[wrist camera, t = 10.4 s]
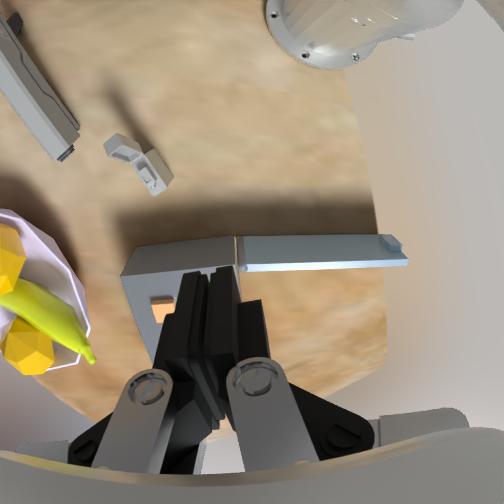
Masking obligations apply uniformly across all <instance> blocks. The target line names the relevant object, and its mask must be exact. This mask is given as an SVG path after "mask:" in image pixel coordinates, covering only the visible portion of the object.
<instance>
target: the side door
mask: <svg viewBox="0 0 504 504" xmlns="http://www.w3.org/2000/svg"><path fill="white" fill-rule="evenodd" d="M236 245H237V263H238V270H239V271H240V272H242V273H243V272H249V271H282V270H312V269H338V268H362V267H384V266H403V265H407V263H408V258H407V257H406V256H405V255H404V254H403V253H402V252H401V250H402V246H403V245H402V244H401V243H400V242H399V241H398V240H397V239H396V238H395V237H394V236H392V235H384V234H363V235H282V236H238V237H237V238H236Z"/></svg>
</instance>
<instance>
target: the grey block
mask: <svg viewBox="0 0 504 504" xmlns="http://www.w3.org/2000/svg"><path fill="white" fill-rule="evenodd" d="M229 265H233V268H234V272H235V276H236V281H237V285H238V289H239V294H240V298H241V302H243V301H242V294H241V286H240V278H239V271H238V263H237V255H236V247H235V239H234V235H231V236H222V237H213V238H205V239H196V240H188V241H179V242H171V243H163V244H154V245H146V246H138V247H136V248H135V250H134V252H133V254H132V255H131V257H130V259H129V261H128V263H127V264H126V266H125V268H124V270H123V272H122V274H121V275H120V278H121V281H122V284H123V287H124V290H125V293H126V296H127V299H128V302H129V305H130V308H131V310H132V313H133V316H134V319H135V321H136V324H137V327H138V329H139V332H140V334H141V337H142V339H143V342H144V344H145V347H146V349H147V352H148V354H149V357H150V359H151V362H152V364H153V363H154V358H155V354H156V350H157V346H158V341H159V337H160V333H161V329H162V325H163V321H164V318H165V315H166V314H168V313H174V310H175V306H176V301H177V297H178V293H179V289H180V284H181V280H182V276H183V273H188V272H194V271H200V272H201V274H207V276H208V279H209V283H210V274H211V273H214V272H216V268H218V267H224V266H229Z"/></svg>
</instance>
